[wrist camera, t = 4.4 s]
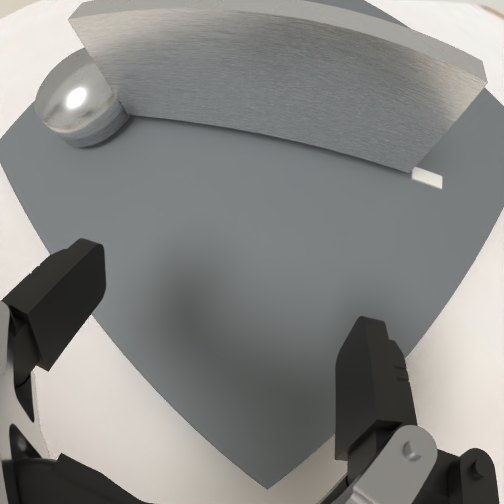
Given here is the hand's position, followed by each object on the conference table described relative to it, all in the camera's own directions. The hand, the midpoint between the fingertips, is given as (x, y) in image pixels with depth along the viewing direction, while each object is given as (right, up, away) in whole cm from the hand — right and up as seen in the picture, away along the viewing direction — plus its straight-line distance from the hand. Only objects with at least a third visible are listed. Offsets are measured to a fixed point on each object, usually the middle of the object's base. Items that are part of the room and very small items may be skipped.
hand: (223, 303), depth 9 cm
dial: (-1, +9, +7) cm, 11 cm away
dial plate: (+2, +10, +9) cm, 14 cm away
